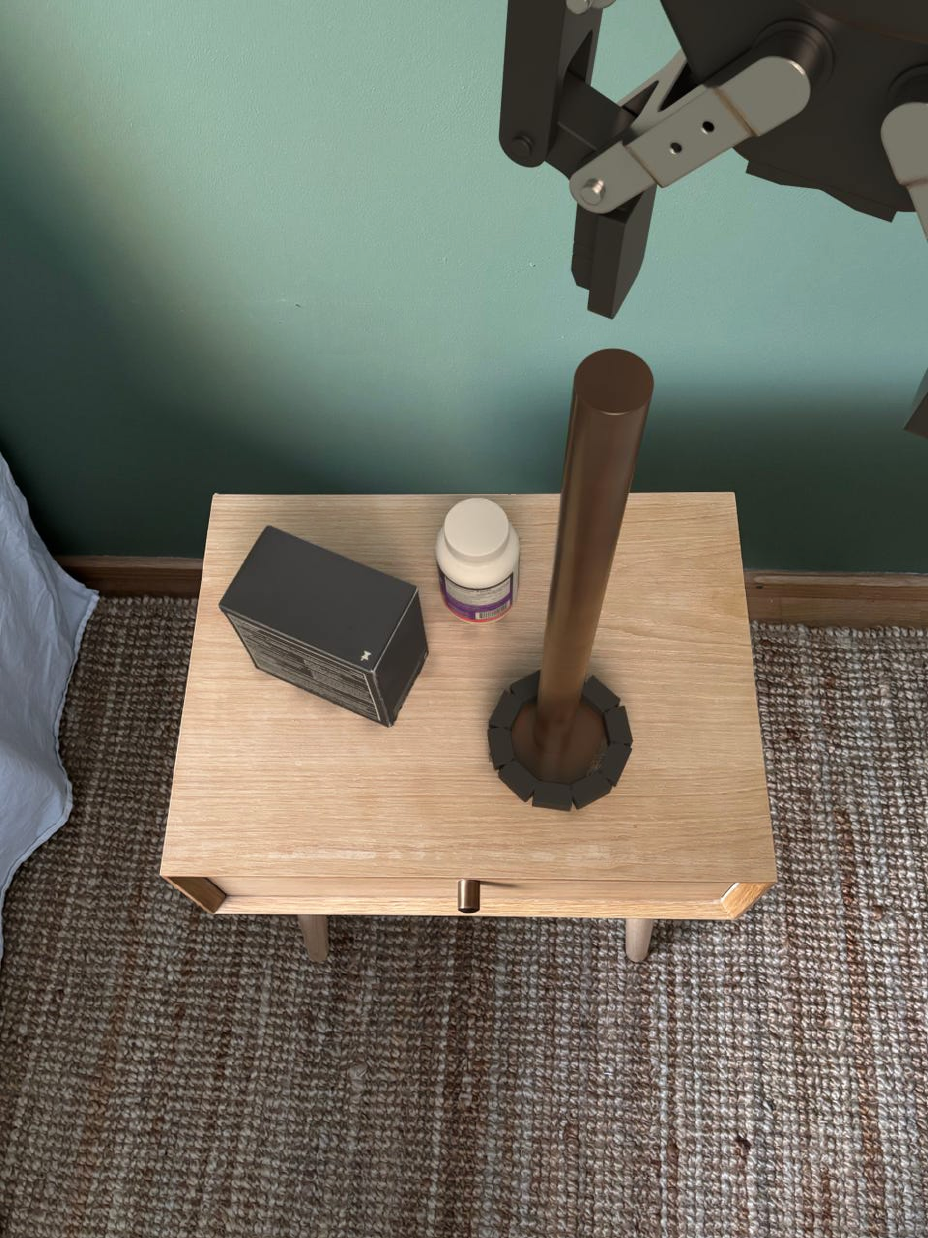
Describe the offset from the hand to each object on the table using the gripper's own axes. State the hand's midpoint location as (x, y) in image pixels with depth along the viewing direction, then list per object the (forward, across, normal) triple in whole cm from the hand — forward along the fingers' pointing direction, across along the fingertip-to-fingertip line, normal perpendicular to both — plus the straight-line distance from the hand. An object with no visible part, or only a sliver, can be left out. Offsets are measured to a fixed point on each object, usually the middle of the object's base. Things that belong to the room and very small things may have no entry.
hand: (763, 348), depth 27 cm
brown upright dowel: (+43, +4, 0) cm, 43 cm away
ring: (+41, +3, 0) cm, 42 cm away
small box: (+43, +19, +1) cm, 47 cm away
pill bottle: (+43, +13, -7) cm, 46 cm away
